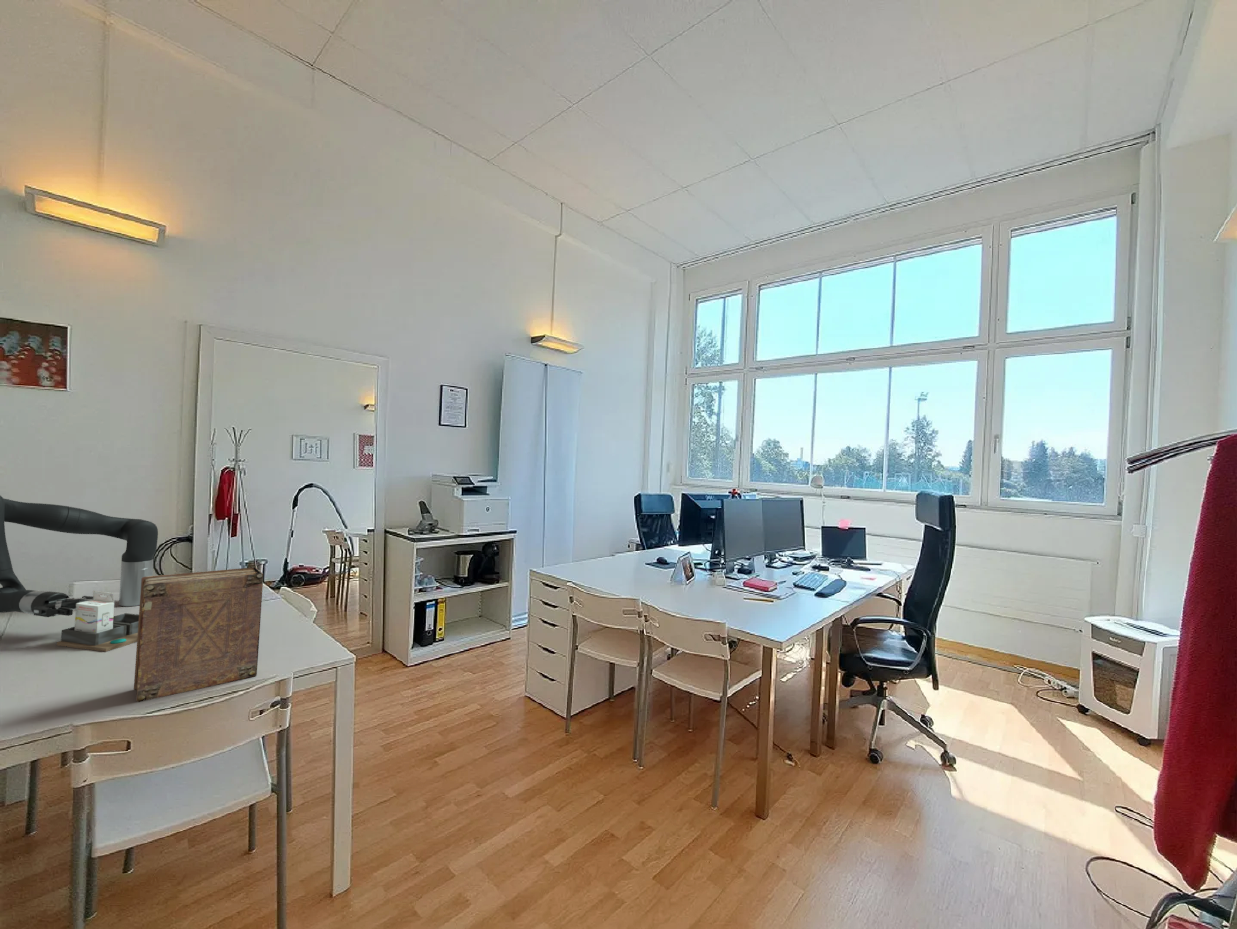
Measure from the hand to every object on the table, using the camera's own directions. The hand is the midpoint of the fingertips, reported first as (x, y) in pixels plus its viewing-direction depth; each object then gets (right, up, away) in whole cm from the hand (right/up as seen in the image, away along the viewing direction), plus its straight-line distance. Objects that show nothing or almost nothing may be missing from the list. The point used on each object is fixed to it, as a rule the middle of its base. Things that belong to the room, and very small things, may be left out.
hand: (87, 608), depth 160 cm
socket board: (+6, -11, +4) cm, 13 cm away
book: (+55, -14, -22) cm, 61 cm away
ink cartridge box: (+3, -10, -1) cm, 10 cm away
